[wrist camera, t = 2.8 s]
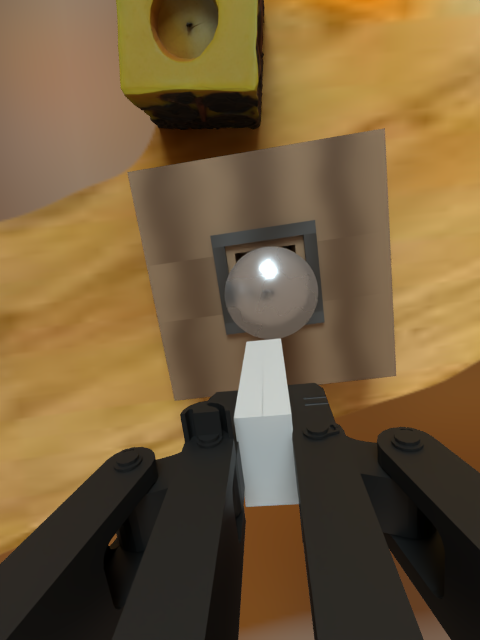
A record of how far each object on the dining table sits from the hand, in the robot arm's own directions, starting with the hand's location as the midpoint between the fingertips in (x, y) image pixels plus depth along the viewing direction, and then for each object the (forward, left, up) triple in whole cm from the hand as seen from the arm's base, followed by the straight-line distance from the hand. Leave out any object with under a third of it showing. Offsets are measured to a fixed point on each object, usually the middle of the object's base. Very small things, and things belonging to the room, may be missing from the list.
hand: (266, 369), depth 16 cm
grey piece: (+1, +2, -17) cm, 17 cm away
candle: (-2, +21, -24) cm, 32 cm away
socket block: (+1, +2, -23) cm, 23 cm away
